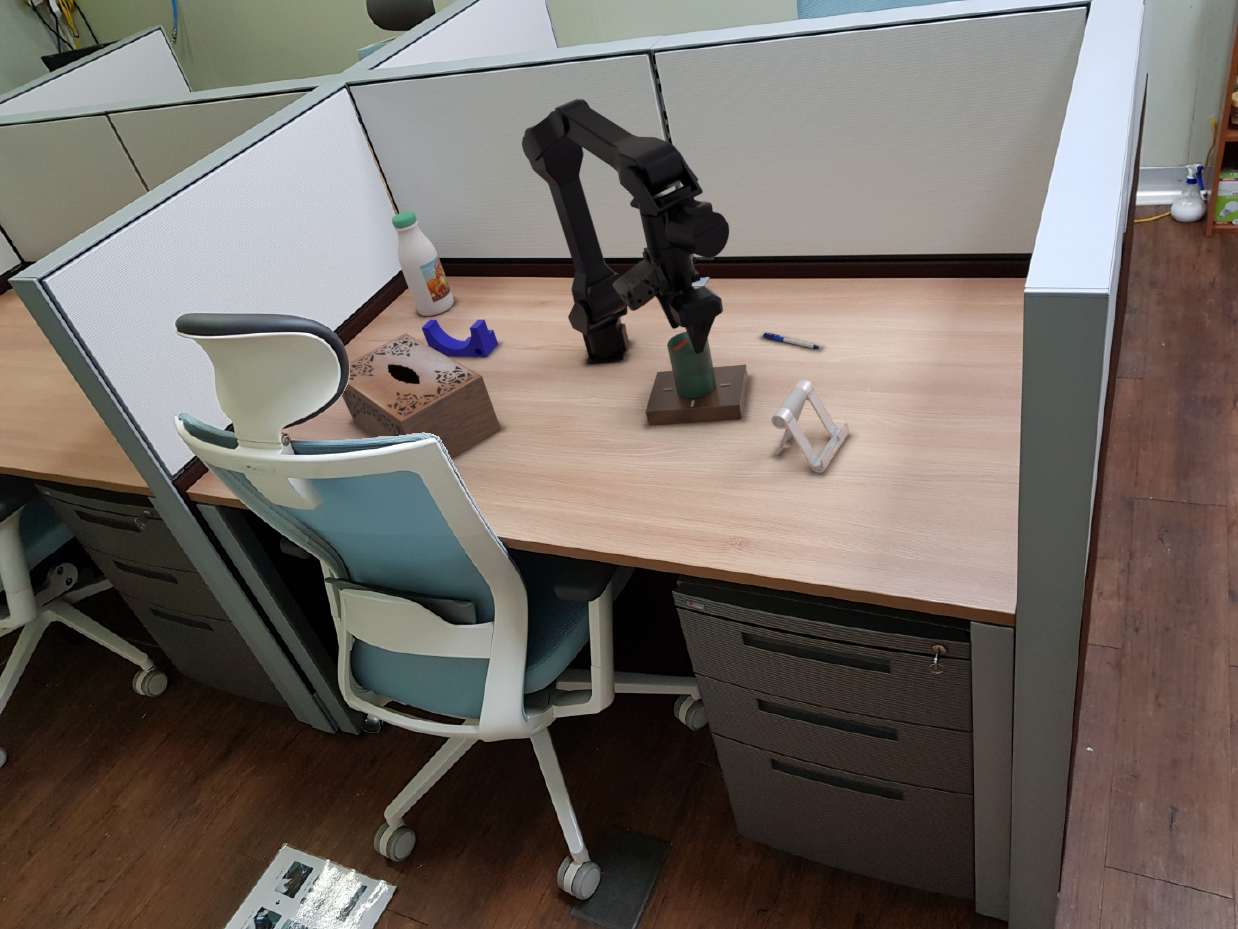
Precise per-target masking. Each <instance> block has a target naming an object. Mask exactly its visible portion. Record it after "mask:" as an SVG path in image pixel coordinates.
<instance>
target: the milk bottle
mask: <svg viewBox="0 0 1238 929" xmlns="http://www.w3.org/2000/svg"><path fill="white" fill-rule="evenodd" d="M391 223H392V226H393V227H394V230H395V231H396V232H397V237H398V238H397V240H398V242H397V243H398V245H397V257H398V262H399V265H400V268H401V272H402V274H403V276H404V279H405V283H406V285H407V287H408V290H409V292H410V295H411V298H412V300H413V303H414V306H415V308H416V311H417V313H419V315H421V316H425V317H430V316H431V317H432V316H435V315H439V314H442V313H445V312H446V311H448V310H449V309H451V307H453V305H454V301H455V300H454V296H453V293H452V290H451V287H450V285H449V282H448V278H447V275H446V274H445V271H444V268H443V265H442V263H441V260H440V257H439V254H438V252H437V250H436V248H435V246H434V245H433V243H432V241H430V239H429V238H428V237H427V236H426V234H424V233H423V232H422V231H421V229H420V227H419V226H418V223H419V222H418V220H417V216H416V213H415V212H414V211H411V210H410V211H403V212H399V213H398V214H395V215H394V216H392V218H391Z"/></svg>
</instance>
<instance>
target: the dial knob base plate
mask: <svg viewBox="0 0 1238 929" xmlns="http://www.w3.org/2000/svg"><path fill="white" fill-rule="evenodd" d="M713 369H714V374H715V380H716V387H715V389H714V390H713V391H712V392H711V393H709V394H707V395H705V396H703V397H699V398H685V397H682V396H680V395H679V394H678V393H677V390H676V385H675V380H674V376H673V371H672V370H664V371H663V370H662V371H656V375H655V378H654V382H653V384H652V388H651V392H650V396H649V399H648V402H647V405H646V409H645V415H646V419H647V424H648V426H655V425H656V426H658V425H659V426H660V425H672V424H686V423H700V422H701V423H702V422H715V421H731V420H742V419H743V412H744V407H745V399H746V395H747V394H746V393H747V387H748V382H749V374H748V368H747V364H735V365H723V366H713Z"/></svg>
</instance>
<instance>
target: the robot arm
mask: <svg viewBox="0 0 1238 929" xmlns="http://www.w3.org/2000/svg"><path fill="white" fill-rule="evenodd" d="M521 147H522V151H523V153H524V156H525V157H526V158H527V160H528V162H529V164H530V167H531V169H532V171H533V172H535V173H536V174H537V175H538V177H540V178H541V179H542V180H544V181H545V182H546V183H547V185H548V188H549V191H550V194H551V197H552V200H553V203H554V207H555V210H556V213H557V217H558V219H559V220H558V221H559V222H560V226H561V230H562V232H563V236H564V238H565V242H566V245H567V248H568V251H569V254H570V257H571V261H572V264H573V267H574V271H575V272H574V277H573V279H572V280H573V281H572V286H571V289H570V291H571V295H572V299H573V303H574V304H573V306H572V308H571V310H570V312H569V314H568V316H567V319H568V321H569V323H570V325H571V327H572V329H573V330H575V331H577V332H579V333H580V334H582V339H583V342H584V345H585V349H586V353H587V357H586V359H585V363H586V364H588V365H590V364H599V363H600V364H602V363H613V362H622V361H623V360H624V359H625V355H626V353H627V352H628V349H629V346H630V340H629V336H628V332H627V327H626V323H622V319H621V318H622V317H624V316H626V315H628V308H629V310H630V311H632V312H634V311H638V310H639V309H640V308H642V307H644V306H645V305H647V304H648V303H649V302H651V301H652V300H653V299H654V298H656V300H657V302H658V303H659V305H660V308H661V309H662V311H663V313H664V316H665V317H666V319H667V322H668V324H669V326H670V328H671V329H673V330H674V329H675V330H676V329H677V328H685V330H686V331H685V332H687V334H688V336H689V339H690V341H691V344H692V346H693V349H694V351H695V353H696V354H699V353H702V352H703V351H704V348H705V345H706V342H707V339H708V340H709V335H710V332H711V330H712V327H713V324H714V322H715V320H716V317H718V316H719V315H721V314H722V313H723V312H724V306H723V300H722V298H721V296H720V295H718V294H717V293H716V292H715V291H714V290H712V289H711V288H709V287H707V286H706V285H702V286H699V287H697V288H696V287H695V286H694V285H693V284H694V283H697V282H700V281H701V280H702V279H701V275H700V272H698V271H697V270H696V269H695V267H694V261H693V256H692V255H696V256H699V257H702V258H705V259H711V258H715V257H717V256H718V255H719V254H721V253H722V251H723V250H724V249H725V248H726V245H727V243H728V241H729V236H730V226H729V222H727V220H726V218H725V216H724V215H723V214H722V213H720V212H717V211H714V209H713V204H712V202H709V201H705V200H703V201H701V200H696V199H695V198H696V197H698V196H700V195H702V194H703V192H704V190H703V188H702V187H701V185H700V183H699V182H698V181H699V178H698V177H697V175H696V174H695V173H694V171H693V170H692V169H691V167H689V164H688V163H687V162H686V160H685V158H684V156H683V154H682V153H681V152H680V150H678V148H677V147H676V146H675V145H674V144H672V143H671V142H669V141H666V140H665V139H661V138H658V137H657V136H638V135H635V134H633V133H631V132H630V131H627V130H626V129H625V128H623V127H621V126H620V125H618V124H616V123H615V122H614V121H612V120H611V119H609V118H607V117H605V116H604V115H602V114H601V113H599V112H598V111H596V110H595V109H592V108H591V107H590V105H589V103H588V102H587V101H586V100H585V99H583V98H580V99H579V98H576V99H573V100H571V101H568V102H566V103H564V104H561V105H558V106H556V107H554V108H553V110H552V111H550V112H549V113H548V115H547V116H546V117H545V118H544V119H542V120H541V121H539V122H538V123H536V124H533V125H532V126H530V127H527V128H525V130H524V134H523V136H522V139H521ZM584 150H586V151H587V152H589V153H590V154H592V155H593V156H595V157H597V159H599V160H601V161H603V162H604V163H605V164H607V165H608V166H610V167H611V168H613V169H614V170H615V171H616V172H617V176H618V181H619V184H620V186H622V188H623V189H625V191H627V192H628V193H629V194H630V195H631V196H632V199H631V200H630V202H629V205H630V207H631V208H634V209H637V210H638V211H639V215H640V216H639V217H640V220H641V226H642V229H643V234H644V239H645V243H646V247H644V248H642V249H643V251H642V258H643V260H640V261H638V263H637V265H634V266H632V267H631V268H630V269H629V270H627V271H626V272H625V273H624V274H622V275H621V274H620V272H619V273H618V272H615V271H614V270H613V269H612V268H610V266H608V265H607V263H606V261H605V258H604V254H603V251H602V248H601V245H600V242H599V241H600V240H599V238H598V235H597V231H596V227H595V224H594V220H593V217H592V214H591V211H590V207H589V204H588V202H587V196H586V194H585V190H584V188H583V184H582V180H581V176H580V173H581V169H582V164H583V160H584V155H585V153H584ZM679 184H681V186H680V187H677V188H675V189H673V190H672V191H669V192H667V193H664V192H666V191H667V190H669V189H672V188H674V187H676V186H678V185H679Z"/></svg>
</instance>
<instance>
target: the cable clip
mask: <svg viewBox="0 0 1238 929" xmlns="http://www.w3.org/2000/svg"><path fill="white" fill-rule="evenodd" d="M421 330H422V333H423V336H424V338H425V341H426V345H428V346H430V347H431V348H433V349H435V350H437V351H438V352H440V353H442V354H444V355H446V356H447V357H458V358H459V357H461V358H462V357H463V358H467V357H468V358H487V357H488V356H489V355H490V354H491V353H492V352H493V350H494V349H495V348H496V347H498V345H499V342H498V340H497V339H498V338H497V336H496V333H495V331H494V329H489V328H488V325H487V322H486V319H477V320H476V321H475V322H473V324H472V325H471V326H470V327H469V331H470V336H468V337H467V338H465V340H460V339H457V338H454V337H453V336H451V335H449V334H448V333H447V332H446V331H444V329H443V327H441V325H440V324H439V321H438V319H429V320H428V321H426V323H425V324H424V325H423V326H421Z"/></svg>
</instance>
